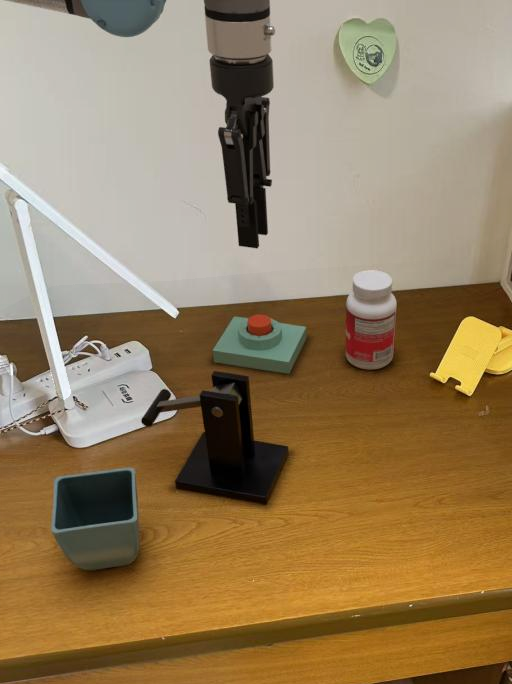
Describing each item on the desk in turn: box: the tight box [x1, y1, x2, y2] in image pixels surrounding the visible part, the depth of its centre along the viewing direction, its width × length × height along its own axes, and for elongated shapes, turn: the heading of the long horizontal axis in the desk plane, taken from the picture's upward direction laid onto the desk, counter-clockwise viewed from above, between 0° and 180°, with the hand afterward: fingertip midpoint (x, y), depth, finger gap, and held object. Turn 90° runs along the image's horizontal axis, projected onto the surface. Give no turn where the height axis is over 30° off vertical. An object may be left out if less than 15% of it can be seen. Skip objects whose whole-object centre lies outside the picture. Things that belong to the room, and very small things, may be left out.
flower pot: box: [50, 467, 141, 571], centre depth 87 cm, size 9×9×9 cm
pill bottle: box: [344, 269, 398, 371], centre depth 115 cm, size 8×8×14 cm
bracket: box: [174, 370, 290, 505], centre depth 96 cm, size 12×10×14 cm
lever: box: [140, 383, 242, 428], centre depth 94 cm, size 12×6×2 cm, turn 77°
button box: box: [212, 316, 307, 375], centre depth 119 cm, size 12×10×4 cm
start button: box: [247, 314, 272, 336], centre depth 118 cm, size 4×4×2 cm
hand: (253, 239), depth 108 cm, fingers open, 3 cm apart
